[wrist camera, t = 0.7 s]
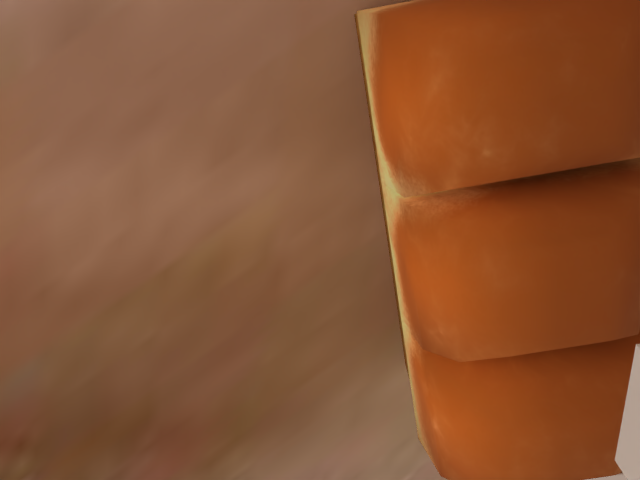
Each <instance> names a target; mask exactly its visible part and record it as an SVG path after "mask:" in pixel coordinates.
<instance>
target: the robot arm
mask: <svg viewBox="0 0 640 480" xmlns="http://www.w3.org/2000/svg"><path fill="white" fill-rule="evenodd" d="M615 461H616V463H617V464H618V466H619V468H620V469H621V471H622V472H623V474H624V475H625V477H626V478H627V480H640V344H636V347H635V352H634V358H633V363H632V369H631V374H630V380H629V385H628V390H627V396H626V401H625V407H624V412H623V418H622V423H621V429H620V434H619V439H618V445H617V450H616V456H615Z"/></svg>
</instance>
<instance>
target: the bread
mask: <svg viewBox="0 0 640 480" xmlns="http://www.w3.org/2000/svg"><path fill="white" fill-rule="evenodd" d="M355 21H356V28H357V35H358V42H359V48H360V55H361V62H362V69H363V76H364V83H365V90H366V96H367V103H368V110H369V117H370V124H371V131H372V137H373V144H374V151H375V158H376V165H377V172H378V179H379V185H380V192H381V199H382V206H383V213H384V220H385V226H386V233H387V240H388V247H389V254H390V261H391V268H392V274H393V281H394V288H395V295H396V302H397V309H398V316H399V322H400V329H401V336H402V343H403V350H404V357H405V363H406V368H407V372H408V376H409V379H410V384H411V391H412V398H413V405H414V411H415V418H416V425H417V432H418V438H419V440H420V442H421V444H422V445H423V447H424V449H425V450H426V452H427V454H428V455H429V457H430V459H431V460H432V462H433V464H434V465H435V467H436V469H437V470H438V472H439V474H440V475H441V476H442V477H444V478H446V479H448V480H584V479H591V478H598V477H605V476H612V475H616V474H619V473H622V471H621V469H620V468H619V466H618V464H617V463H616V461H615V456H616V450H617V445H618V439H619V434H620V429H621V423H622V418H623V412H624V407H625V401H626V396H627V390H628V385H629V380H630V374H631V369H632V363H633V358H634V352H635V347H636V344H640V0H413V1H408V2H402V3H397V4H392V5H386V6H381V7H376V8H370V9H365V10H360V11H357V14H355Z"/></svg>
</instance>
